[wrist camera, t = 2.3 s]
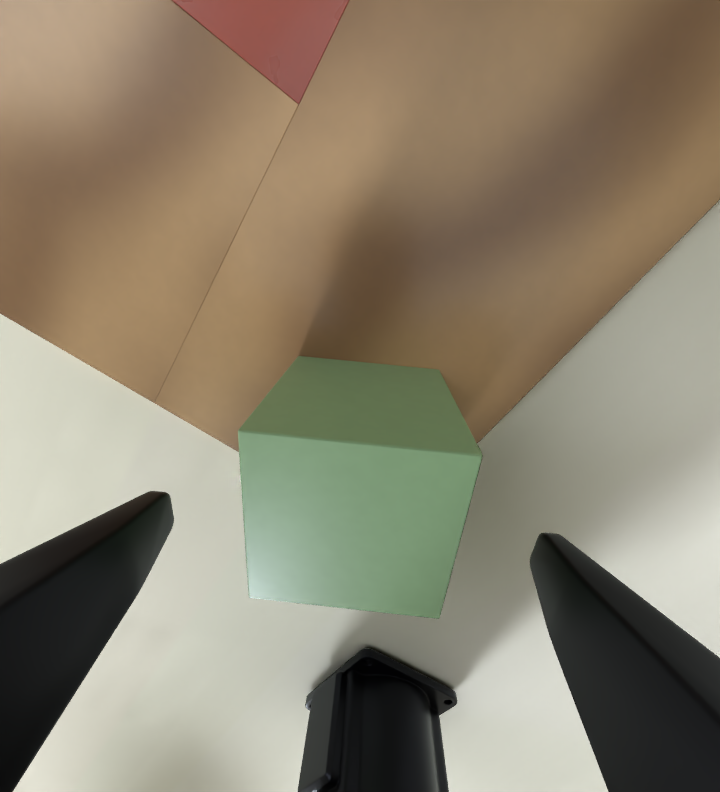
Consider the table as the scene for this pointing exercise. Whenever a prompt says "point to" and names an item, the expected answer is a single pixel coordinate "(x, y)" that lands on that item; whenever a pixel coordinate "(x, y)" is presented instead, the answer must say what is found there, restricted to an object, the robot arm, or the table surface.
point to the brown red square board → (344, 184)
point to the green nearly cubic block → (356, 487)
